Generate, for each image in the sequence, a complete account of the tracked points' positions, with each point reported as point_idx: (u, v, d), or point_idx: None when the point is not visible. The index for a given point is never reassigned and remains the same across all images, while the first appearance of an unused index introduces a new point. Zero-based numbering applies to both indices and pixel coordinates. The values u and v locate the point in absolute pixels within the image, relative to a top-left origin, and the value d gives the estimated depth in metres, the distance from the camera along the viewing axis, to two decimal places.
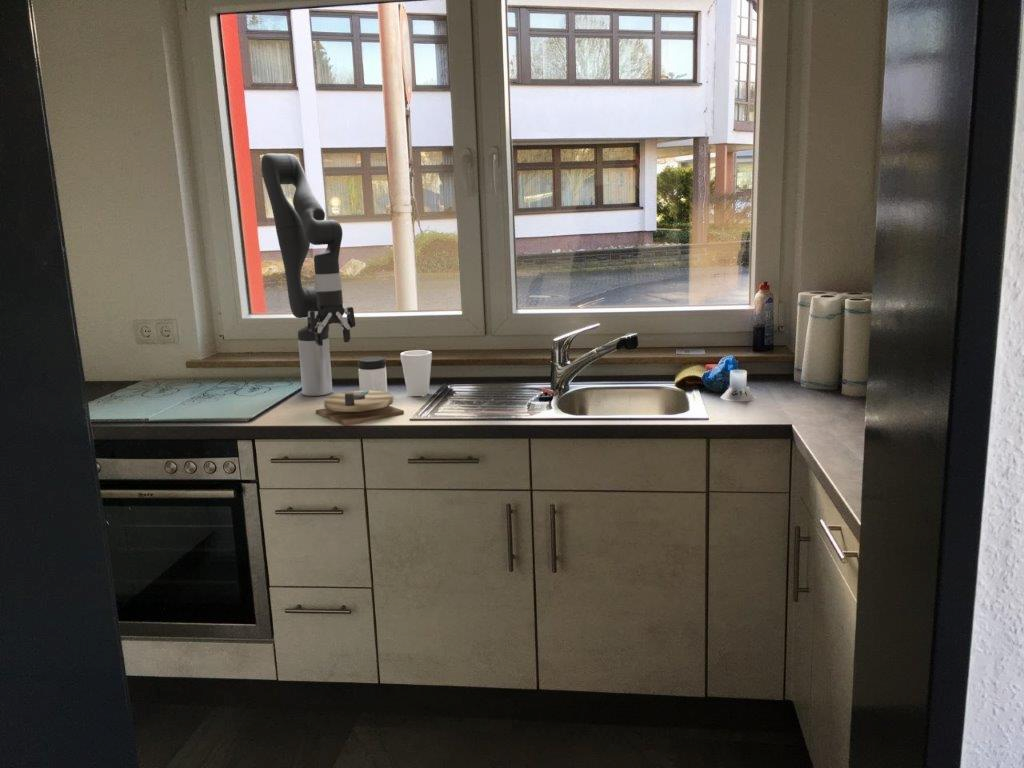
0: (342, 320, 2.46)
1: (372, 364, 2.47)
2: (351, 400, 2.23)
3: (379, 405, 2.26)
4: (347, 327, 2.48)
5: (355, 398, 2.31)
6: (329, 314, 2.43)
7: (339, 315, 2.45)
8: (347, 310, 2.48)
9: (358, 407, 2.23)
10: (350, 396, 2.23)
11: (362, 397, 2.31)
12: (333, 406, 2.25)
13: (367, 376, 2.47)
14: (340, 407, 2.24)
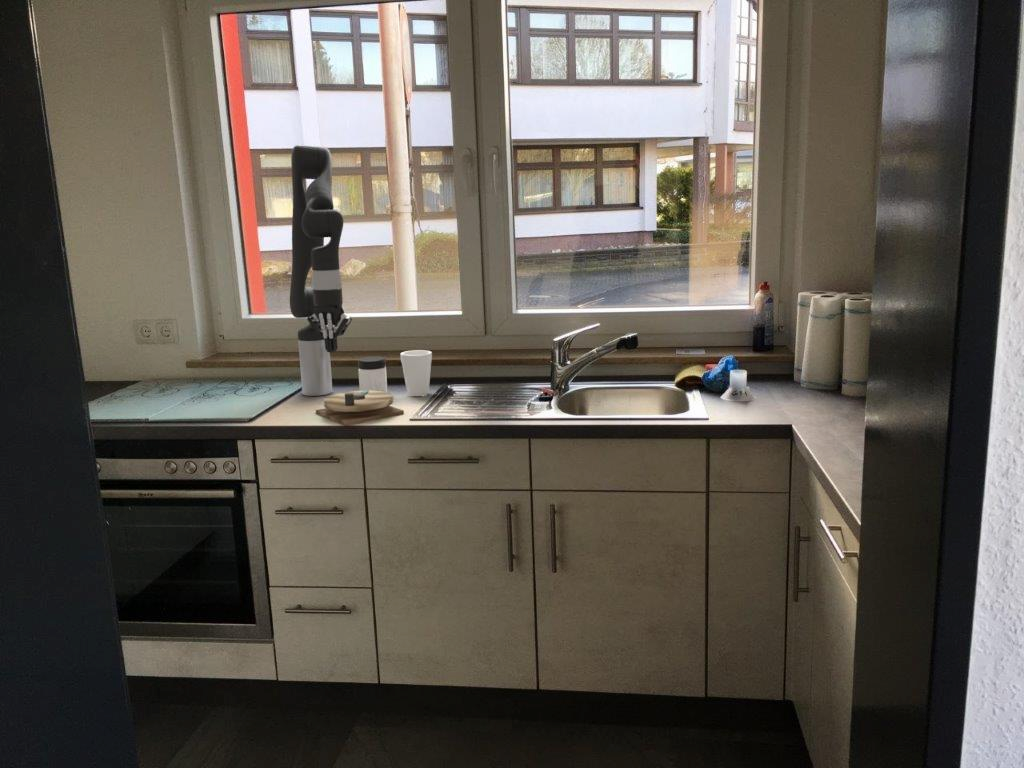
0: None
1: (372, 364, 2.47)
2: (351, 400, 2.23)
3: (379, 405, 2.26)
4: None
5: (355, 398, 2.31)
6: None
7: None
8: None
9: (358, 407, 2.23)
10: (350, 396, 2.23)
11: (362, 397, 2.31)
12: (333, 406, 2.25)
13: (367, 376, 2.47)
14: (340, 407, 2.24)
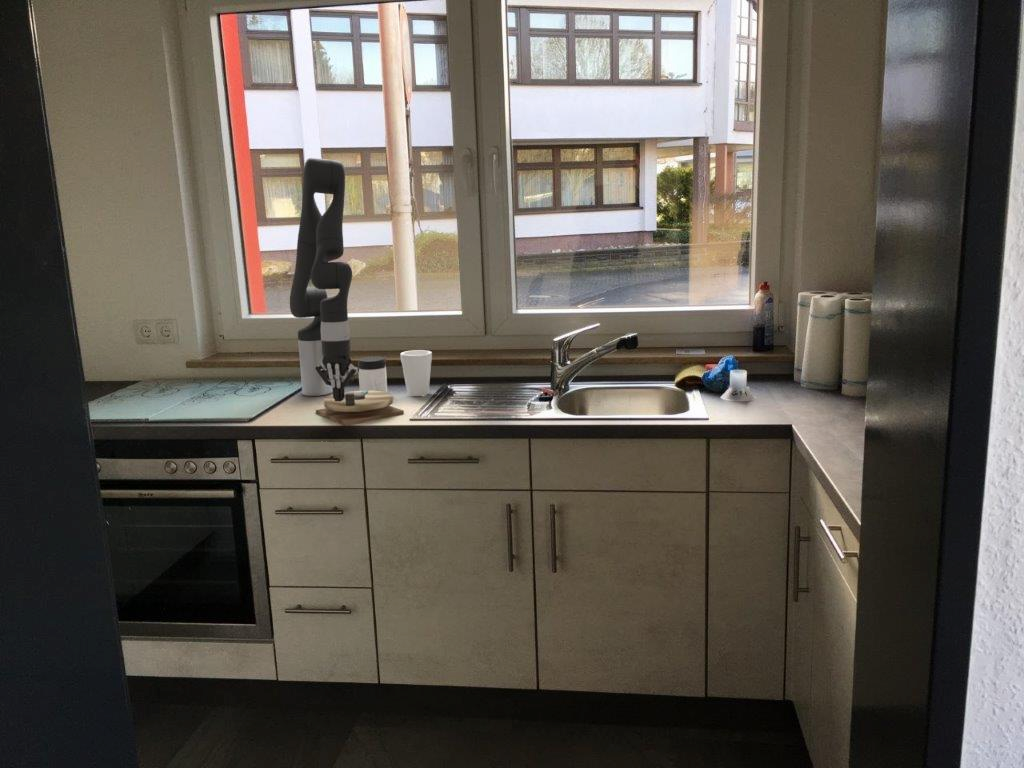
0: None
1: (372, 364, 2.47)
2: (351, 400, 2.23)
3: (379, 404, 2.26)
4: None
5: (355, 398, 2.31)
6: None
7: None
8: None
9: (358, 407, 2.23)
10: (350, 396, 2.23)
11: (362, 397, 2.31)
12: (333, 406, 2.25)
13: (367, 376, 2.47)
14: (340, 407, 2.24)
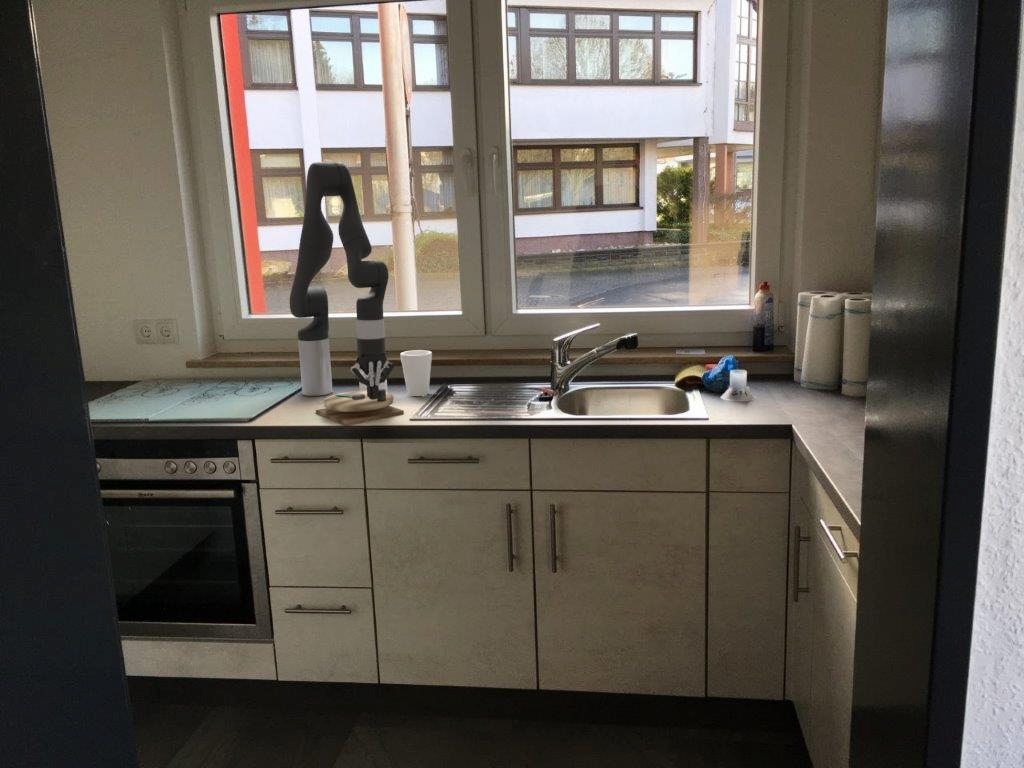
0: None
1: None
2: (385, 395, 2.29)
3: None
4: None
5: (362, 397, 2.31)
6: None
7: None
8: None
9: (390, 400, 2.31)
10: (385, 391, 2.28)
11: None
12: (372, 405, 2.25)
13: None
14: (380, 404, 2.26)
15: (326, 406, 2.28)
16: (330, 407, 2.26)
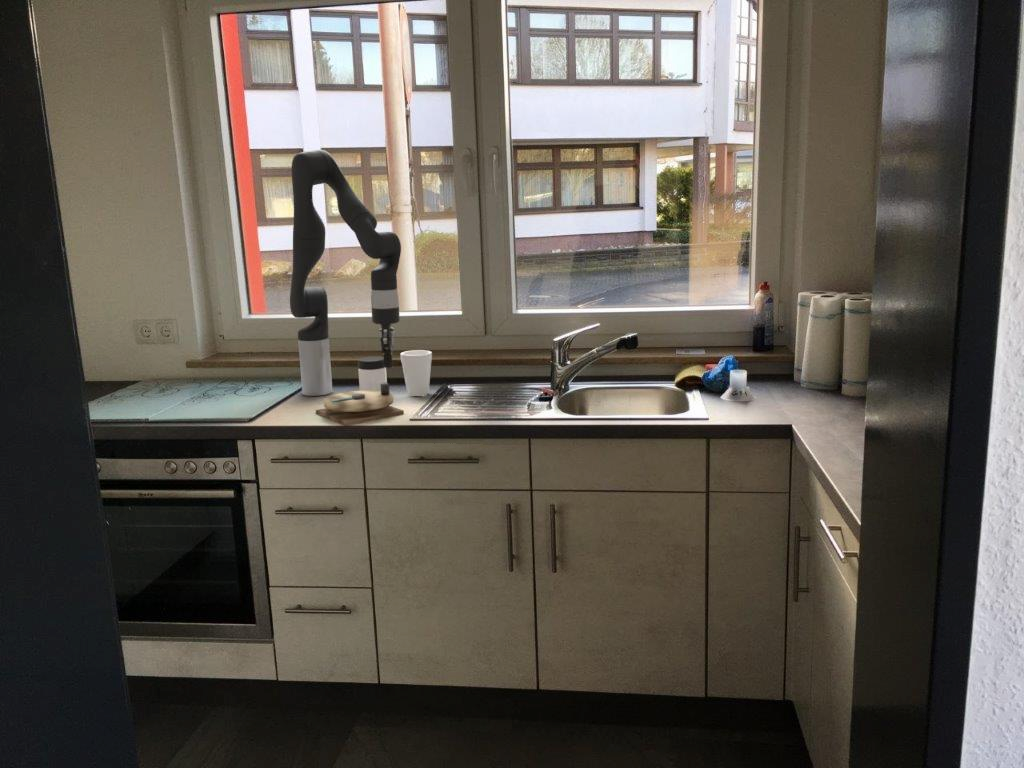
0: (380, 341, 2.30)
1: (372, 364, 2.47)
2: None
3: None
4: None
5: (364, 396, 2.33)
6: None
7: (379, 335, 2.30)
8: None
9: None
10: None
11: None
12: (392, 398, 2.33)
13: (367, 376, 2.47)
14: None
15: (353, 409, 2.23)
16: (362, 408, 2.24)
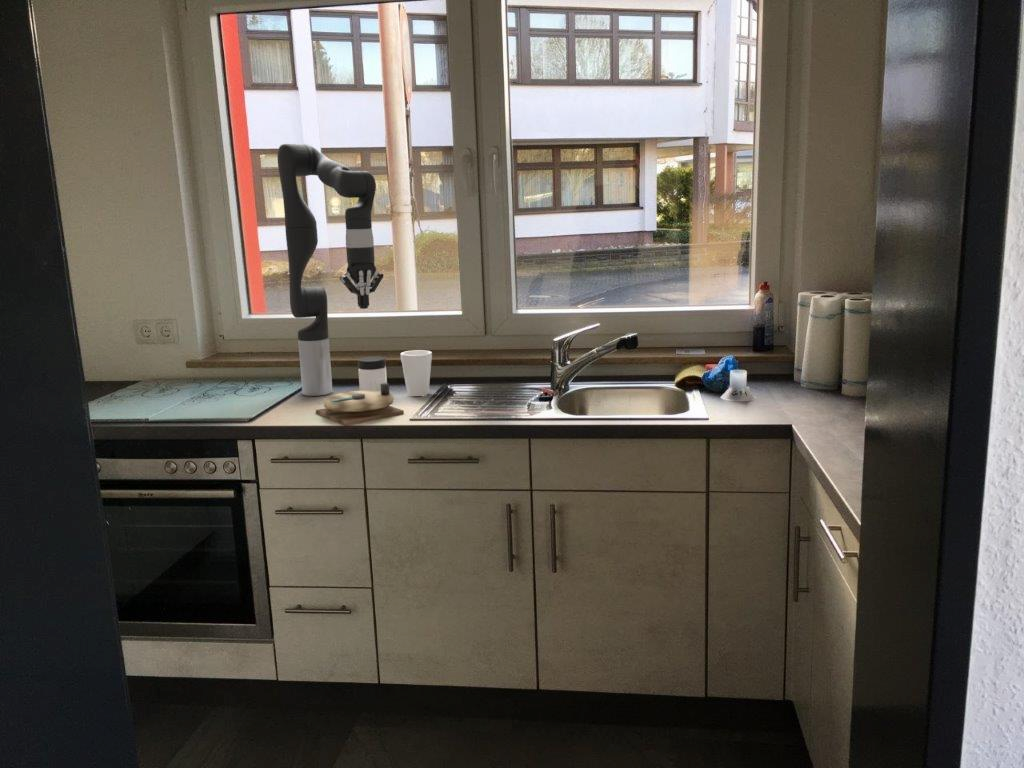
0: None
1: (372, 364, 2.47)
2: None
3: None
4: None
5: (364, 396, 2.33)
6: None
7: None
8: None
9: None
10: None
11: None
12: (392, 398, 2.33)
13: (367, 376, 2.47)
14: None
15: (353, 409, 2.23)
16: (362, 408, 2.24)
